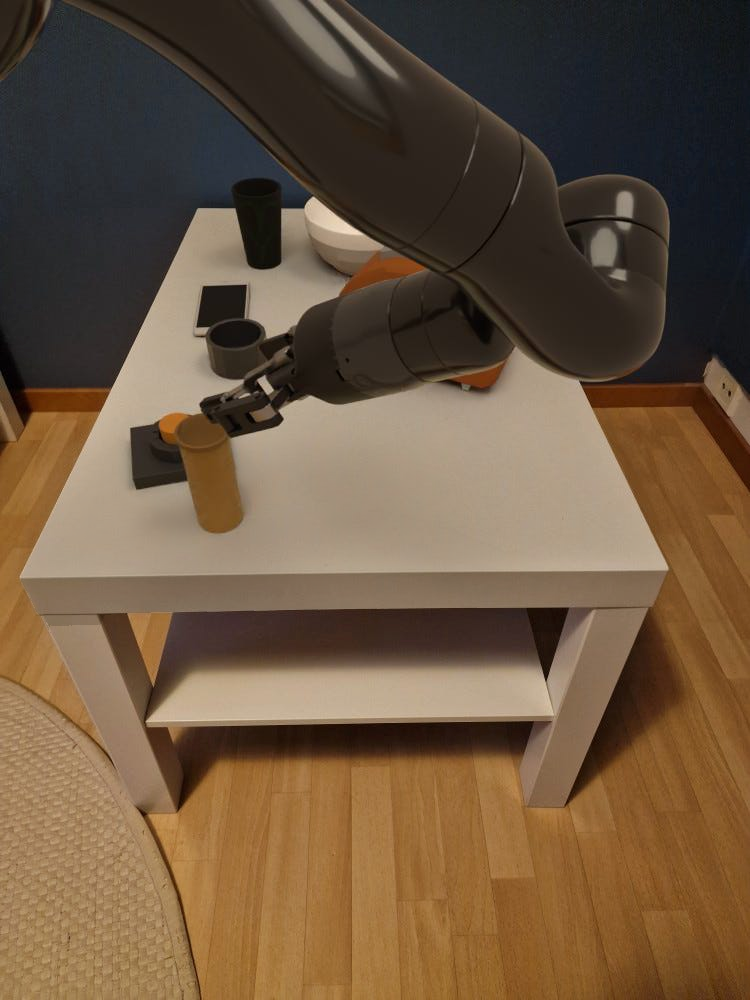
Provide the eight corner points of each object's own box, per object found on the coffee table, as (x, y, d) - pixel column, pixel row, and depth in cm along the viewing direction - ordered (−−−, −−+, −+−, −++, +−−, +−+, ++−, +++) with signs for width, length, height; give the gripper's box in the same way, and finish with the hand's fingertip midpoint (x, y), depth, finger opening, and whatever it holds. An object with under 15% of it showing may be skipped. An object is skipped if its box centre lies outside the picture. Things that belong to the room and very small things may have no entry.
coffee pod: (198, 539, 71) (175, 452, 63) (193, 504, 75) (171, 417, 66) (248, 529, 72) (233, 442, 64) (241, 495, 76) (225, 409, 67)
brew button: (163, 447, 76) (159, 435, 75) (160, 427, 79) (157, 415, 78) (195, 441, 77) (192, 429, 76) (192, 422, 80) (189, 410, 78)
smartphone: (192, 333, 97) (201, 281, 107) (193, 337, 97) (202, 285, 108) (246, 331, 97) (249, 279, 108) (246, 335, 98) (250, 283, 108)
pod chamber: (214, 383, 90) (208, 354, 87) (207, 351, 95) (202, 322, 92) (273, 374, 92) (270, 345, 88) (263, 343, 97) (260, 314, 94)
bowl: (411, 233, 122) (413, 183, 115) (429, 286, 109) (433, 232, 102) (304, 238, 120) (301, 186, 114) (310, 292, 107) (306, 237, 101)
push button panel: (136, 489, 76) (128, 466, 74) (133, 438, 82) (126, 415, 80) (235, 472, 78) (231, 449, 76) (225, 423, 84) (221, 400, 82)
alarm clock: (330, 357, 95) (325, 239, 83) (357, 325, 100) (357, 211, 88) (493, 401, 88) (514, 280, 76) (513, 365, 94) (535, 247, 82)
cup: (265, 277, 110) (256, 201, 101) (231, 263, 113) (220, 188, 105) (297, 259, 114) (291, 185, 106) (263, 246, 118) (255, 173, 109)
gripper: (395, 246, 50) (259, 300, 61) (289, 356, 42) (155, 396, 54) (441, 332, 54) (305, 369, 65) (351, 449, 46) (214, 468, 57)
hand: (237, 381), depth 59 cm, fingers open, 8 cm apart
